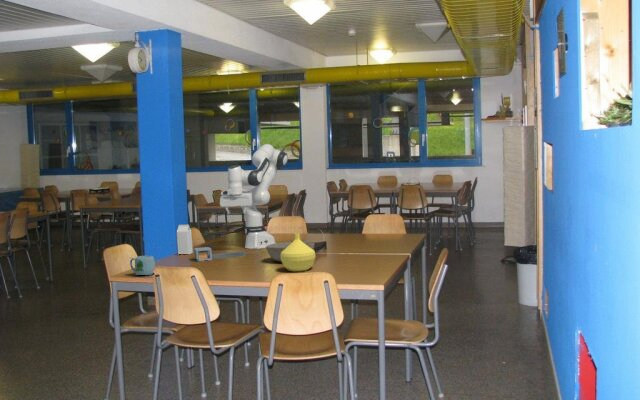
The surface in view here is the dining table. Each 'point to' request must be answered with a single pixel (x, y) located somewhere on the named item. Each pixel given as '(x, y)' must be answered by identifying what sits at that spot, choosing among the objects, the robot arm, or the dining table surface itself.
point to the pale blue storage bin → (202, 250)
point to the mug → (143, 265)
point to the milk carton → (184, 239)
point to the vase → (297, 255)
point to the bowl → (281, 249)
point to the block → (202, 255)
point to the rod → (228, 255)
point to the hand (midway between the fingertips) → (236, 213)
